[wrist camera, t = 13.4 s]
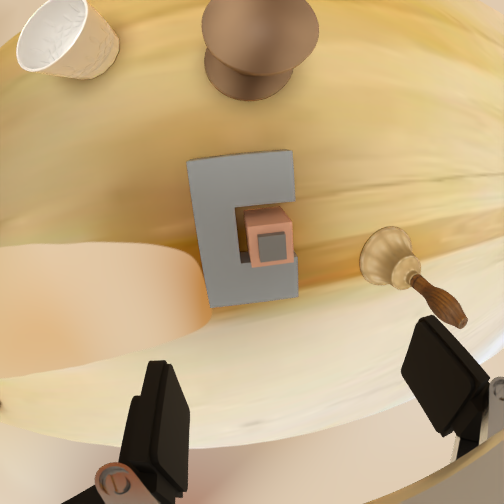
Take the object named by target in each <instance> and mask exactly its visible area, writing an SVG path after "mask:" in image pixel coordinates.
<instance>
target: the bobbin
mask: <svg viewBox="0 0 504 504" xmlns="http://www.w3.org/2000/svg"><path fill="white" fill-rule="evenodd" d="M202 33H203V37H204V41H205V44H206V46H207V49H206V52H205V58H204V64H205V69H206V73H207V76H208V78H209V80H210V81H211V83H212V84H213V85H214V86H215V88H216V89H218V90H219V91H220V92H221V93H223V94H225V95H226V96H229V97H231V98H234V99H237V100H243V101H256V100H261V99H265V98H267V97H270V96H272V95H274V94H275V93H276V92H278V91H279V90H280V89H281V88H282V87H284V86H285V84H286V83H287V82H288V80H289V79H290V77H291V74H292V72H293V68H295V67H296V66H298V65H299V64H300V63H302V62H303V61H304V60H305V59H306V58H307V57H308V56H309V55H310V54H311V53H312V51H313V50H314V48H315V46H316V44H317V41H318V37H319V24H318V20H317V17H316V15H315V13H314V11H313V9H312V8H311V6H310V5H309V4H308V3H307V2H306V1H305V0H211V1H210V2H209V4H208V5H207V7H206V9H205V11H204V13H203V17H202Z"/></svg>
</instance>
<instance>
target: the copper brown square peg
mask: <svg viewBox="0 0 504 504" xmlns="http://www.w3.org/2000/svg"><path fill="white" fill-rule="evenodd" d="M243 212H244V220H245V229H246V238H247V246H248V251H249V256H250V261H251V266H252V268H255V267H262V266H270V265H278V264H285V263H293V262H294V252H293V231H292V221H291V220H290V219H289V217H288V216H287V215H286V213H285V212H284V211H283V209H282V208H281V207H280V206H277V207H268V208H259V209H250V210H243Z"/></svg>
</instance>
